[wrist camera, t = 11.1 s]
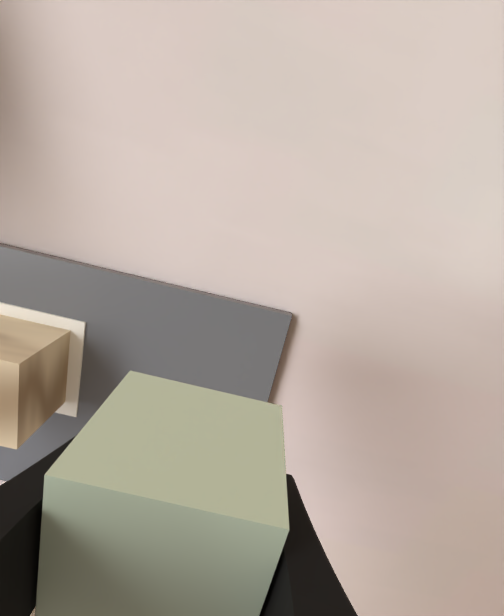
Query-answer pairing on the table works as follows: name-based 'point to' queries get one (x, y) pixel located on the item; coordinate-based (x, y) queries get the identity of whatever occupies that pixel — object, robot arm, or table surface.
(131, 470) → the sage block
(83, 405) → the baseplate
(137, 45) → the table surface
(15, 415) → the maple block
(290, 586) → the robot arm
